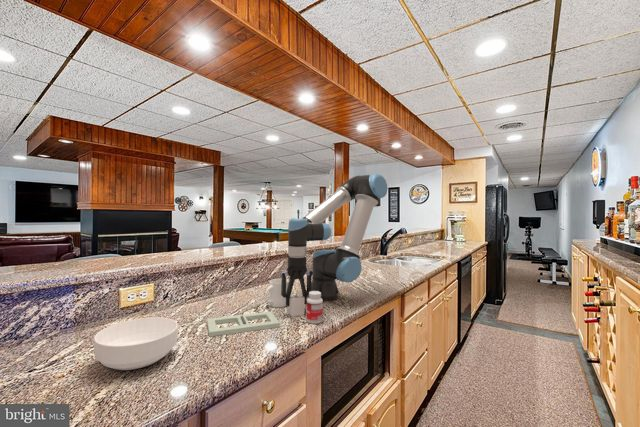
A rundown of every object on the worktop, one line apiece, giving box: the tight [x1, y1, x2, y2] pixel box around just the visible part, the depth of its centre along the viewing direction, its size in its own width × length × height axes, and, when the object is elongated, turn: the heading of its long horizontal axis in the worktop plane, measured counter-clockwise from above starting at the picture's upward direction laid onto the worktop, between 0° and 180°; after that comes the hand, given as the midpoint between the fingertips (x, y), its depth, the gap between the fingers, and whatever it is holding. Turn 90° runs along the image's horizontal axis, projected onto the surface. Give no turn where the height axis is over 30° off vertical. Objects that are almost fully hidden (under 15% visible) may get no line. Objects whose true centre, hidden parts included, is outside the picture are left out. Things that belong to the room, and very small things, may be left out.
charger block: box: [290, 294, 305, 317], centre depth 122 cm, size 5×5×7 cm
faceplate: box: [206, 311, 281, 338], centre depth 109 cm, size 24×13×2 cm, turn 114°
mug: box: [264, 278, 289, 308], centre depth 132 cm, size 9×12×11 cm
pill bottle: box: [305, 291, 324, 325], centre depth 114 cm, size 6×6×11 cm
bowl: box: [93, 316, 179, 371], centre depth 82 cm, size 20×20×8 cm
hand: (296, 312), depth 122 cm, fingers closed on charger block, 5 cm apart
